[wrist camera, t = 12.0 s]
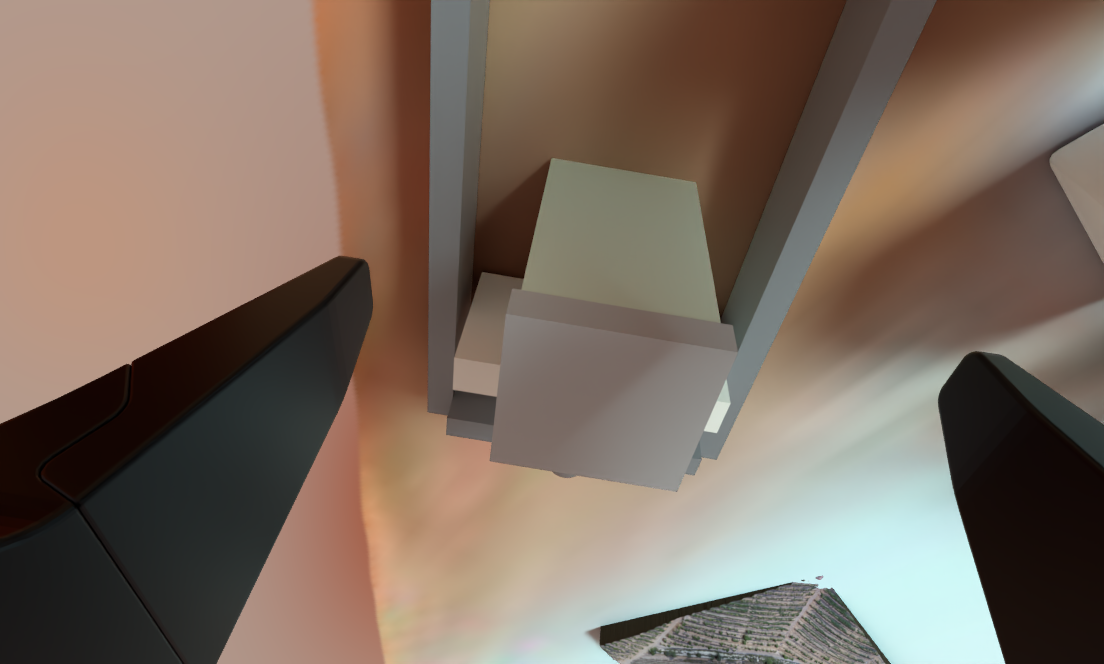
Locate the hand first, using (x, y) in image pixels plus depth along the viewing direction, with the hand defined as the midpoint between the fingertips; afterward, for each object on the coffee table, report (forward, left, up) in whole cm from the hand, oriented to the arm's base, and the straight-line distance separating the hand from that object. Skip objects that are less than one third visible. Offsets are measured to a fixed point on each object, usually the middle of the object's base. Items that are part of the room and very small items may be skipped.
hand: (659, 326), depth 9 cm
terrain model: (-36, +21, -14) cm, 44 cm away
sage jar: (-3, +5, -13) cm, 14 cm away
